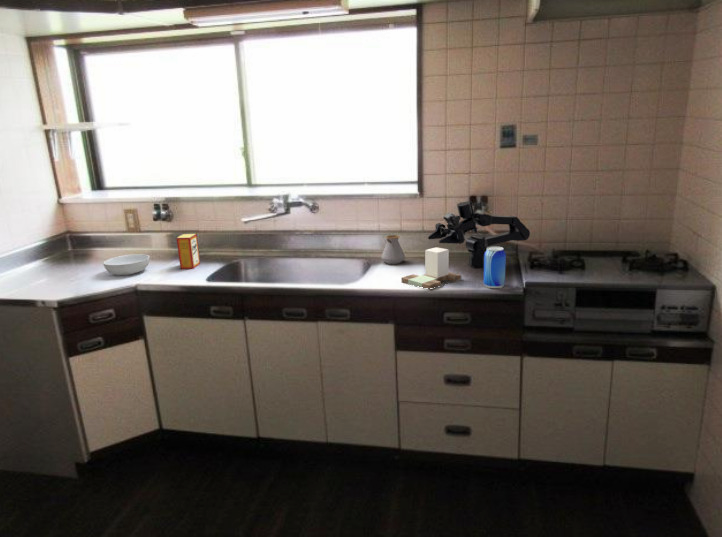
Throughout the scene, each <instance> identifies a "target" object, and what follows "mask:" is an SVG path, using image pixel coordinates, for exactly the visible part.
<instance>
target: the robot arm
mask: <svg viewBox="0 0 722 537" xmlns="http://www.w3.org/2000/svg"><path fill="white" fill-rule="evenodd" d="M456 208H457V211H458V215H456V214H454V213H452V212H447V213H446V214H445V215H444V216H443V219H444V220H445V222H446V223H447V224H446V225H445V224H443V223H440V222H438V223H435V225H434V226H435V230H434V231H433V232H432V233H430V234H429V236H428V237H427V239H428V240H438V239H440V240H438V243H439V244H455V245H456V244H459V245H460V244H463V243H464V242H465V247H466V249H467V250H468V253H470V254H469V258H468V263H467V265H468V266H470V267H471V268H473V269H480V268H484V253H485V252H486V250H487V248H488V247H492V246H495V245H499V244H503V243H507V242H511V241H516V242H517V241H521V242H523V241H527V240H529V238H530V235H531V231H530V230H529V228H527V227H526V225H525V224H524V223H522V222H521V220H520V219H519V217H517V216H513V215H491V214H486V213H482V212H478V211H477V212H475V211H474V207H473V201H472V200H471V201H470V200H467V201H463V202H462V201H461V202H459V203H457V204H456ZM461 219H463V220H461ZM491 225H508V229H509V230H508V231H505V232H501V233H497V234H493V235H488V236H485V235H481V234H477V232H478V229H479V227H489V226H491ZM477 226H479V227H477ZM468 232H470V233H474V234H476V235H470V237H468V238H467V239H466V241H465V236H466V234H467V233H468Z"/></svg>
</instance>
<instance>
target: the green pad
mask: <svg viewBox="0 0 722 537" xmlns="http://www.w3.org/2000/svg"><path fill="white" fill-rule="evenodd" d="M424 275H425V274H422V276H421V275H418V277H415V278H412V279H408V284H407V285H411V286H413V285H414V286H415V287H417V286H419V287H418V288H420V287H422V283H425V282H428V281H431V280H436V281H437V279H436V278H432V277H428V276H424Z"/></svg>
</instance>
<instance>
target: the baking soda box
mask: <svg viewBox="0 0 722 537" xmlns="http://www.w3.org/2000/svg"><path fill="white" fill-rule="evenodd" d="M176 244H177V251H178V261H179V265H180V266H179V267H180V270H194V269H195V268H197V267H198V266H199V265H200V264H201V260H200V252H199V243H198V237H197V233H183V234H180V235H179V236H177V237H176Z"/></svg>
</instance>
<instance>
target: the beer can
mask: <svg viewBox="0 0 722 537" xmlns="http://www.w3.org/2000/svg"><path fill="white" fill-rule="evenodd" d="M506 255H507V253H506V252H505V250H504V247H502V246H495V245H493V246H488V247H487V250H486V252H485V253H484V267H483V285H484V287H486V289H490V288H500V289H502V288H503V287H504V285H505V284H506V261H507V260H506V258H507V256H506Z"/></svg>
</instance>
